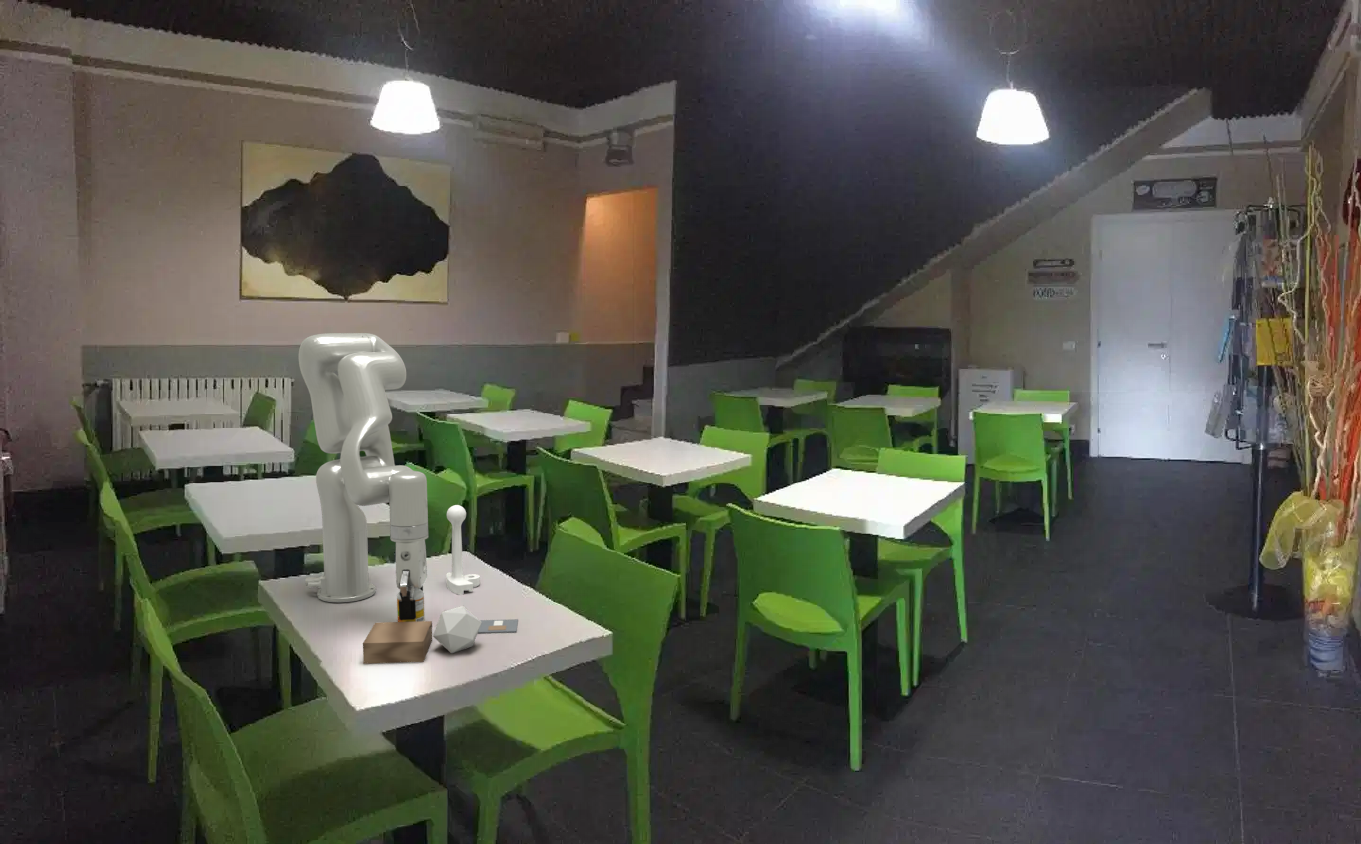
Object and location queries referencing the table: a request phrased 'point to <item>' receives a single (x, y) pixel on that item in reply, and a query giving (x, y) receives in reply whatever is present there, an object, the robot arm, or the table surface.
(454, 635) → the die
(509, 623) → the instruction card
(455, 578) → the joystick
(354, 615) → the table surface
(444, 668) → the table surface
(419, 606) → the supplement bottle
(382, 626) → the base block
